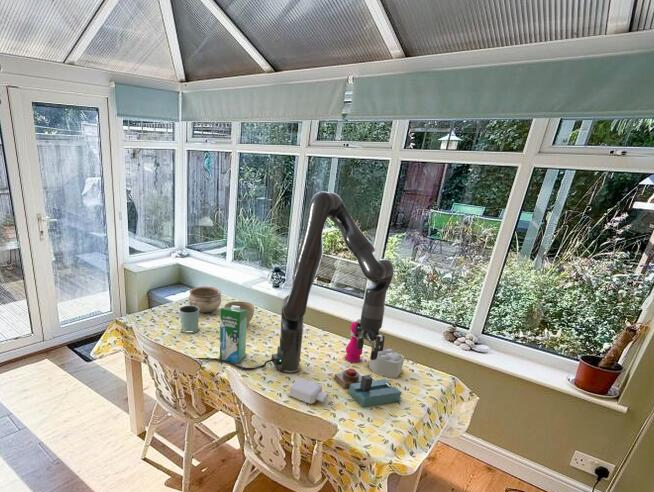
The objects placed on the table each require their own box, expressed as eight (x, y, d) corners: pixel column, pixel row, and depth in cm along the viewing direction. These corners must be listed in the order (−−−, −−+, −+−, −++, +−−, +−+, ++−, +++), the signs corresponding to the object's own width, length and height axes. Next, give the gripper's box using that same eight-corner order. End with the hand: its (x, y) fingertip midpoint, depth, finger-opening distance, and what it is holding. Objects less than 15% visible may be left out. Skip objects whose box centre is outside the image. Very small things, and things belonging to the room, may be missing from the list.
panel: (344, 388, 165) (345, 379, 164) (334, 378, 172) (335, 370, 171) (366, 385, 168) (367, 376, 166) (355, 375, 175) (356, 367, 173)
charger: (325, 411, 151) (289, 396, 159) (335, 399, 158) (299, 386, 166) (326, 400, 149) (289, 386, 157) (336, 389, 156) (301, 376, 164)
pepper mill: (361, 363, 184) (368, 323, 176) (345, 361, 185) (351, 321, 178) (360, 356, 191) (366, 316, 183) (343, 354, 192) (349, 315, 184)
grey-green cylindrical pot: (203, 329, 216) (203, 307, 212) (191, 335, 208) (191, 314, 204) (187, 324, 221) (187, 303, 217) (176, 331, 213) (175, 309, 209)
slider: (363, 394, 156) (366, 379, 154) (359, 390, 159) (362, 375, 156) (370, 393, 157) (372, 378, 154) (365, 389, 159) (368, 374, 157)
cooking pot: (208, 301, 254) (208, 282, 249) (231, 309, 242) (231, 290, 237) (178, 312, 237) (177, 292, 233) (200, 321, 225) (200, 300, 221)
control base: (363, 407, 154) (365, 396, 152) (348, 392, 162) (350, 382, 161) (399, 400, 158) (401, 390, 156) (383, 387, 166) (385, 377, 165)
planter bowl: (234, 317, 232) (235, 299, 228) (259, 324, 223) (260, 305, 219) (217, 326, 220) (218, 307, 216) (243, 334, 211) (244, 314, 207)
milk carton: (245, 355, 190) (247, 305, 180) (238, 363, 182) (239, 311, 173) (227, 351, 194) (228, 301, 184) (219, 359, 186) (220, 308, 176)
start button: (349, 376, 167) (350, 372, 166) (345, 372, 170) (346, 369, 169) (356, 375, 168) (357, 371, 167) (352, 371, 170) (353, 368, 170)
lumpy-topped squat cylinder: (395, 379, 172) (399, 361, 169) (365, 369, 179) (368, 351, 176) (403, 369, 179) (406, 352, 176) (373, 360, 187) (376, 343, 183)
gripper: (352, 308, 154) (347, 347, 160) (375, 323, 141) (369, 364, 147) (369, 306, 155) (363, 344, 162) (394, 320, 143) (386, 361, 149)
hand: (366, 354), depth 154 cm, fingers open, 8 cm apart
